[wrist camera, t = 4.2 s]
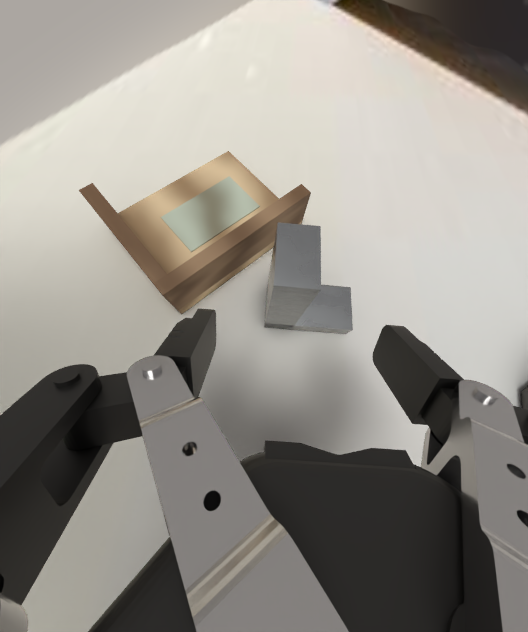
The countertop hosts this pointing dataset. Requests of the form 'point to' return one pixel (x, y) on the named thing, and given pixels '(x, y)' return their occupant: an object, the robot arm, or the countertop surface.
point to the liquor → (525, 398)
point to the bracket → (303, 285)
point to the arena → (198, 214)
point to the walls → (211, 260)
